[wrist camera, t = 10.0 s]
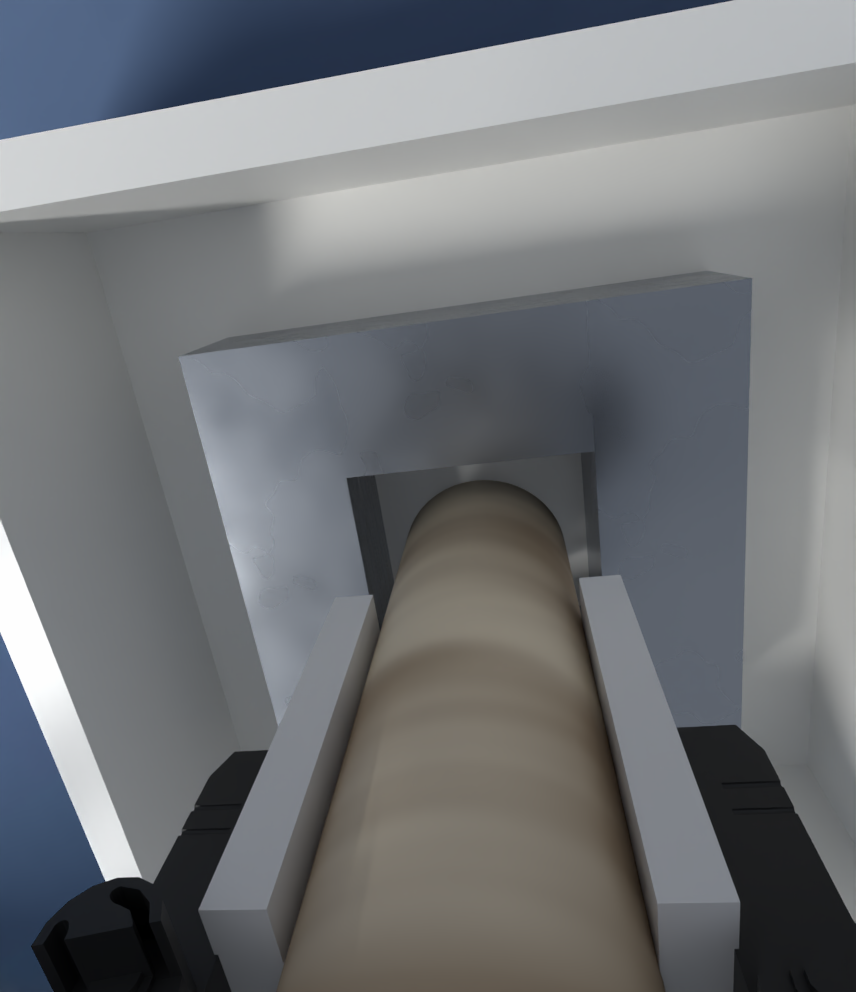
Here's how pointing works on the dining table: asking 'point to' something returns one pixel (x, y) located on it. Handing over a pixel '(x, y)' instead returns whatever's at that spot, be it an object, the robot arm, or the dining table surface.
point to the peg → (477, 782)
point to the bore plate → (497, 455)
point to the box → (400, 289)
